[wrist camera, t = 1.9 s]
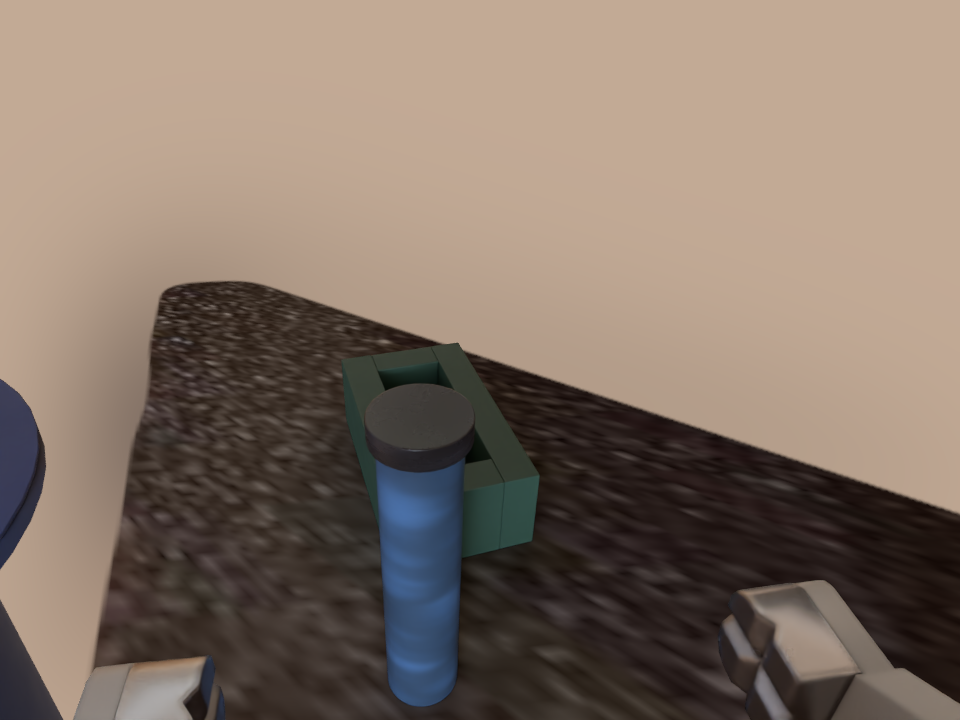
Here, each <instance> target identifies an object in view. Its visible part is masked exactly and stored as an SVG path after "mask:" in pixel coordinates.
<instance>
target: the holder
mask: <svg viewBox="0 0 960 720" xmlns="http://www.w3.org/2000/svg"><path fill="white" fill-rule="evenodd" d="M342 372H343V384H344V396H345V407H346V419H347V423H348V426H349V429H350V433H351V436H352V440H353V443H354V446H355V450H356V453H357V456H358V460H359V463H360V467H361V470H362V473H363V477H364V480H365V483H366V487H367V490H368V494H369V497H370V500H371V504H372V507H373V510H374V514H375V517H376V521H377V524H378V527H379V513H378V496H377V479H376V461H375V458H374V457H373V456H372V454H371V453H370V452H369V450H368V448H367V446H366V440H365V425H364V415H365V411H366V409H367V407H368V405H369V404H370V403H371V401H372V400H373V399H374V398H376V397H377V396H378V395H380V394H381V393H383V392H385V391H387V390H389V389H392V388H395V387H398V386H403V385H408V384H434V385H440V386H443V387H447V388H450V389H452V390H454V391H456V392H458V393H460V394H461V395H463V396H464V397H465V398H466V399H467V400H468V401H469V402H470V403H471V405H472V407H473V409H474V412H475V436H474V443H473V446H472V448H471V450H470V451H469V453H468V454H467V455H466V456H465V474H464V502H463V530H462V557H461V558H464V557H468V556H473V555H477V554H481V553H485V552H489V551H493V550H497V549H499V548H500V549H501V548H505V547H509V546H513V545H517V544H521V543H526V542H530V541H532V537H533V529H534V520H535V511H536V503H537V494H538V486H539V477H540V475H539V473H538V472H537V470H536V468H535V467H534V465H533V464H532V462H531V460H530V459H529V457H528V455H527V454H526V452H525V451H524V449H523V447H522V446H521V444H520V442H519V441H518V439H517V438H516V436H515V434H514V433H513V431H512V429H511V428H510V426H509V425H508V423H507V421H506V420H505V418H504V416H503V415H502V413H501V412H500V410H499V408H498V407H497V405H496V403H495V402H494V400H493V399H492V397H491V395H490V394H489V392H488V390H487V389H486V387H485V386H484V384H483V382H482V381H481V379H480V378H479V376H478V374H477V373H476V371H475V369H474V368H473V366H472V365H471V363H470V361H469V360H468V358H467V356H466V355H465V353H464V352H463V350H462V348H461V347H460V345H459V343H453V344H445V345H438V346H432V347H426V348H419V349H412V350H405V351H398V352H391V353H384V354H378V355H372V356H371V355H370V356H363V357H356V358H349V359H342Z"/></svg>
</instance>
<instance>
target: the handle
mask: <svg viewBox="0 0 960 720" xmlns="http://www.w3.org/2000/svg"><path fill="white" fill-rule="evenodd" d="M364 425H365V440H366V446H367V448H368V450H369V452H370V453H371V454H372V456H373V457H374V458H375V461H376V479H377V496H378V513H379V531H380V548H381V566H382V583H383V601H384V618H385V636H386V653H387V671H388V682H389V685H390V688H391V690H392V691H393V693H394V694H395V695H396V696H397V698H399V699H400V700H401V701H403V702H405V703H407V704H409V705H413V706H422V707H423V706H429V705H433V704H436V703H438V702H440V701H441V700H443V699H444V698H445V697H446V696H447V695H448V694H449V693H450V692H451V691H452V689H453V687H454V685H455V683H456V680H457V668H458V640H459V612H460V585H461V557H462V530H463V502H464V474H465V456H466V455H467V454H468V453H469V451H470V450H471V448H472V446H473V443H474V436H475V412H474V409H473V407H472V405H471V403H470V402H469V401H468V400H467V399H466V398H465V397H464V396H463V395H461V394H460V393H458V392H456V391H454V390H452V389H450V388H447V387H443V386H440V385H434V384H408V385H403V386H398V387H395V388H392V389H389V390H387V391H385V392H383V393H381V394H380V395H378V396H377V397H376V398H374V399H373V400H372V401H371V403H370V404H369V405H368V407H367V409H366V411H365V415H364Z"/></svg>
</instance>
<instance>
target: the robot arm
mask: <svg viewBox="0 0 960 720" xmlns="http://www.w3.org/2000/svg"><path fill="white" fill-rule="evenodd" d="M728 606H729V608H730V609H731V611H732V613H733V614H731V615H730V616H729V617H728V618H727V619H726V620H724V621H723V622H722V624H721V627H720V630H719V634H718V644H719V654H720V657H721V660H722V663H723V666H724V668H725V670H726V672H727V674H728V677H729V679H730V681H731V682H732V683H733V684H735V685H736V686H737V687H739V688H740V689H741V690H743V691H744V692H745V693H747V696H746V703H745V710H746V712H747V714H748V716H749V718H750V719H751V720H960V704H959V703H957V702H956V701H954V700H953V699H951V698H949V697H948V696H946V695H945V694H943V693H942V692H940V691H938V690H937V689H935V688H934V687H932V686H931V685H929V684H928V683H926V682H924V681H923V680H921V679H920V678H918V677H917V676H915V675H913V674H912V673H910V672H909V671H907V670H906V669H904V668H900V669H894V667H893V666H892V665H891V663H890V662H889V661H888V659H887V658H886V657H885V655H884V654H883V653H882V651H881V650H880V649H879V647H878V646H877V645H876V643H875V642H874V641H873V639H872V638H871V637H870V635H869V634H868V633H867V631H866V630H865V629H864V627H863V626H862V625H861V623H860V622H859V621H858V619H857V618H856V617H855V615H854V614H853V613H852V611H851V610H850V609H849V607H848V606H847V605H846V603H845V602H844V601H843V599H842V598H841V597H840V595H839V594H838V593H837V591H836V590H835V589H834V588H833V586H832V585H830V584H829V583H827V582H826V581H822V580H816V581H809V582H802V583H795V584H792V583H788V584H781V585H773V586H766V587H759V588H752V589H745V590H738V591H737V592H735V593H734V594H732V596H731V599H730V601H729V604H728ZM214 675H215V666H214V663H213V660H212V657H211V655H208V656H199V657H189V658H180V659H171V660H162V661H152V662H143V663H130V664H122V665H114V666H106V667H98V668H95V670H94V671H93V673H92V674H91V675H90V677H89V678H88V680H87V682H86V684H85V687H84V690H83V693H82V696H81V699H80V701H79V704H78V707H77V710H76V713H75V716H74V719H73V720H225V706H224V697H223V693H222V690H221V687H220V686H218V685H216V684H214V683H213V680H214Z"/></svg>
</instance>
